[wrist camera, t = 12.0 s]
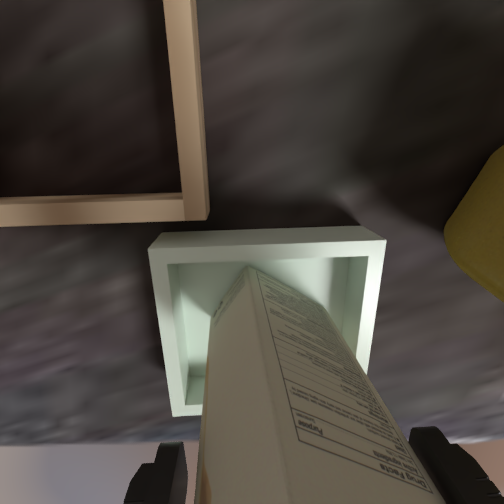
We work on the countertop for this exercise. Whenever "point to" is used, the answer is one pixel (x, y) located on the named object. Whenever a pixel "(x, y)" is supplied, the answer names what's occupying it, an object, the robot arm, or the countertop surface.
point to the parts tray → (271, 264)
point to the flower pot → (481, 228)
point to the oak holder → (188, 140)
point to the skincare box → (295, 410)
